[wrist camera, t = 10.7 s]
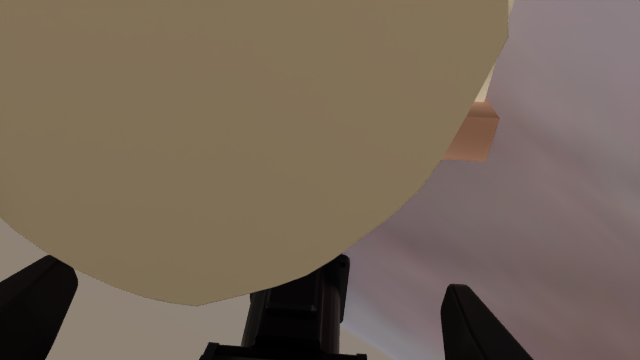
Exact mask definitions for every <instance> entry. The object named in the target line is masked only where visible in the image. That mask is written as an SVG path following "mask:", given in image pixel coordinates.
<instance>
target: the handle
mask: <svg viewBox="0 0 640 360" xmlns="http://www.w3.org/2000/svg"><path fill="white" fill-rule="evenodd" d="M507 39H508V0H0V217H1V218H2V219H3V220H4V221H5V222H6V223H7V224H8V225H9V226H10V227H11V228H12V229H14V230H15V231H16V232H18V233H19V234H21V235H22V236H24V237H25V238H26V239H28V240H29V241H30V242H32V243H33V244H35V245H36V246H38V247H39V248H40V249H42V250H43V251H45V252H47V253H48V254H50V255H52V256H53V257H55V258H57V259H59V260H60V261H62V262H64V263H66V264H67V265H69V266H71V267H73V268H75V269H76V270H78V271H80V272H82V273H84V274H87V275H89V276H91V277H93V278H95V279H98V280H100V281H102V282H104V283H106V284H109V285H111V286H113V287H116V288H119V289H122V290H125V291H128V292H130V293H133V294H136V295H139V296H142V297H145V298H150V299H155V300H159V301H164V302H169V303H176V304H183V305H190V306H199V305H204V304H208V303H212V302H217V301H221V300H225V299H229V298H233V297H237V296H242V295H245V294H249V293H253V292H257V291H261V290H264V289H268V288H272V287H276V286H279V285H282V284H284V283H287V282H290V281H292V280H295V279H298V278H301V277H303V276H306V275H308V274H310V273H311V272H313V271H315V270H316V269H318V268H320V267H321V266H323V265H325V264H326V263H328V262H330V261H331V260H333V259H334V258H336V257H337V256H338V255H340V254H341V253H342V252H344V251H345V250H346V249H348V248H349V247H350V246H352V245H353V244H354V243H356V242H357V241H359V240H360V239H361V238H363V237H364V236H365V235H367V234H368V233H369V232H371V231H372V230H373V229H375V228H376V227H377V226H379V225H380V224H381V223H383V222H384V221H385V220H387V219H388V218H389V217H391V216H392V215H393V214H394V213H395V212H396V211H397V210H398V209H399V208H400V207H402V206H403V205H404V204H405V203H406V202H407V201H408V200H409V199H410V198H411V197H413V196H414V195H415V194H416V193H417V192H418V191H419V190H420V188H421V187H422V186H423V184H424V183H425V182H426V180H427V179H428V177H429V176H430V175H431V173H432V172H433V171H434V169H435V168H436V166H437V165H438V164H439V162H440V161H441V160H442V158H443V156H444V155H445V153H446V151H447V149H448V148H449V146H450V144H451V142H452V140H453V139H454V137H455V135H456V133H457V132H458V130H459V128H460V126H461V125H462V123H463V121H464V119H465V118H466V116H467V114H468V112H469V110H470V109H471V107H472V105H473V103H474V101H475V99H476V97H477V95H478V94H479V92H480V90H481V88H482V86H483V84H484V82H485V80H486V79H487V77H488V75H489V73H490V71H491V69H492V67H493V65H494V64H495V62H496V60H497V58H498V56H499V54H500V52H501V50H502V49H503V47H504V45H505V43H506V41H507Z"/></svg>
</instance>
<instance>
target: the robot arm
mask: <svg viewBox="0 0 640 360" xmlns="http://www.w3.org/2000/svg"><path fill="white" fill-rule="evenodd" d="M340 262H344V263H340ZM349 268H350V259H349V258H348V257H347V256H346V255H338V256H337V257H336V258H334V259H333V260H331V261H330V262H328V263H326V264H325V265H323V266H321V267H320V268H318V269H316V270H315V271H313V272H311V273H310V274H308V275H306V276H303V277H301V278H298V279H295V280H292V281H290V282H287V283H284V284H282V285H279V286H276V287H272V288H268V289H264V290H261V291H257V292H253V293H250V301H251V304H250V308H249V313H248V317H247V321H246V326H245V330H244V334H243V338H242V342H241V346H230V345H219V343H212V342H209V343H208V345H207V348H206V350H205V352H204V354H203V355H202V356H201V357H200V359H199V360H367V355H366V354H356V355H348V354H339V336H340V323H341V322H342V321H343V316H344V308H345V300H346V292H347V284H348V276H349ZM77 286H78V279H77V276H76V274H75V271H74V269H73V267H71V266H69V265H67V264H66V263H64V262H62V261H60V260H59V259H57V258H55V257H53V256H52V255H47V256H45V257H43V258H41V259H39V260H38V261H36V262H34V263H33V264H31V265H29V266H28V267H26V268H24V269H22V270H21V271H19V272H17V273H15V274H14V275H12V276H10V277H9V278H7V279H5V280H3V281H1V282H0V360H45V359H46V357H47V355H48V353H49V351H50V349H51V347H52V345H53V343H54V341H55V339H56V337H57V334H58V332H59V330H60V327H61V325H62V323H63V320H64V318H65V316H66V313H67V311H68V309H69V306H70V304H71V302H72V299H73V297H74V295H75V292H76V289H77ZM441 324H442V333H443V342H444V351H445V360H533V359H532V357H531V356H530V355H529V354H528V353H527V352H526V351H525V350H524V348H523V347H522V346H521V345H520V344H519V343H518V342H517V340H516V339H515V338H514V337H513V336H512V335H511V334H510V333H509V331H508V330H507V329H506V328H505V327H504V326H503V325H502V324H501V322H500V321H499V320H498V319H497V318H496V317H495V316H494V314H493V313H492V312H491V311H490V310H489V309H488V308H487V307H486V305H485V304H484V303H483V302H482V301H481V300H480V299H479V297H478V296H477V295H476V294H475V293H474V292H473V291H472V290H471V288H470V287H468V286H467V285H463V284H450V285H449V286H448V287H447V290H446V293H445V296H444V299H443V303H442V306H441Z"/></svg>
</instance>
